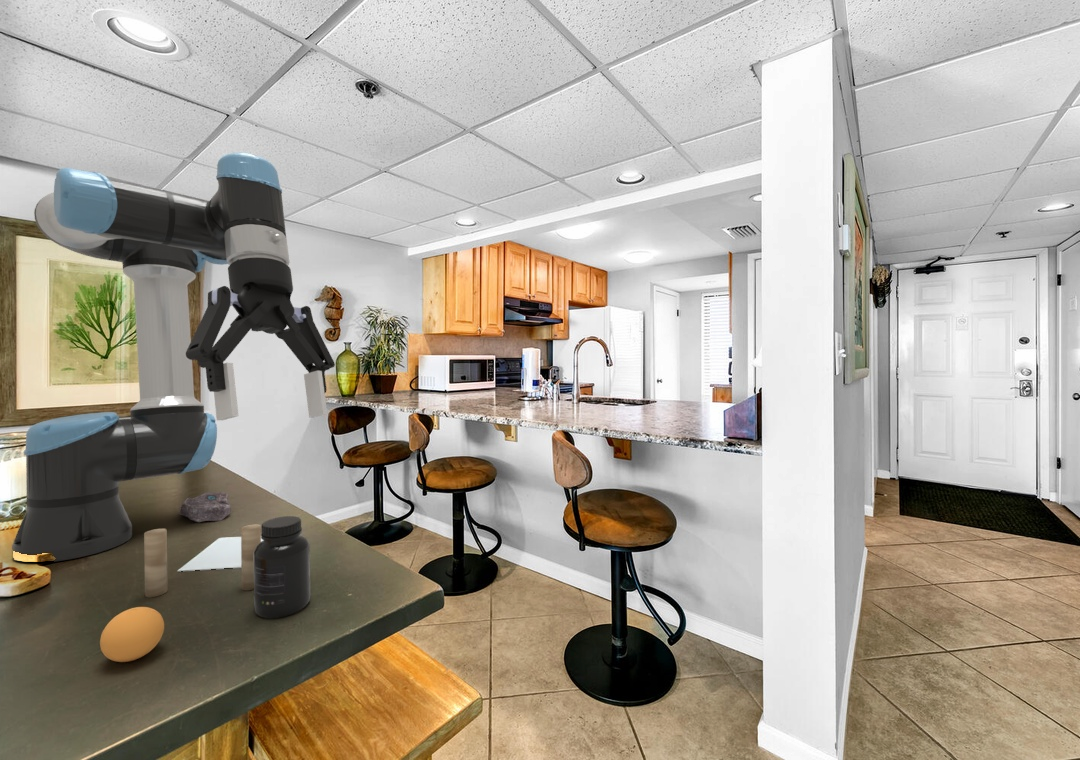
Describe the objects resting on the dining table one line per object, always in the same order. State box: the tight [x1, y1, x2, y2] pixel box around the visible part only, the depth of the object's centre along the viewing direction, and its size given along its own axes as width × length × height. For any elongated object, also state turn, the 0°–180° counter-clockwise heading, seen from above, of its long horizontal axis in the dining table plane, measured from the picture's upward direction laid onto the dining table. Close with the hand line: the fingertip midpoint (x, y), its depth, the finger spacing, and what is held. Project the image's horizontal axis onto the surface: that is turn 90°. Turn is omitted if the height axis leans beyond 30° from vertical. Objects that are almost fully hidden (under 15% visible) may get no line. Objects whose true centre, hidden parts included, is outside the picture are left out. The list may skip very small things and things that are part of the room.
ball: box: [99, 606, 165, 663], centre depth 53 cm, size 6×6×6 cm
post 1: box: [143, 528, 168, 598], centre depth 67 cm, size 2×2×9 cm
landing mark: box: [177, 536, 263, 573], centre depth 83 cm, size 14×14×1 cm
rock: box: [178, 491, 232, 523], centre depth 101 cm, size 8×11×5 cm
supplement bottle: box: [253, 515, 311, 619], centre depth 64 cm, size 7×7×12 cm
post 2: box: [240, 524, 262, 591], centre depth 70 cm, size 2×2×9 cm
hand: (277, 417), depth 62 cm, fingers open, 13 cm apart
